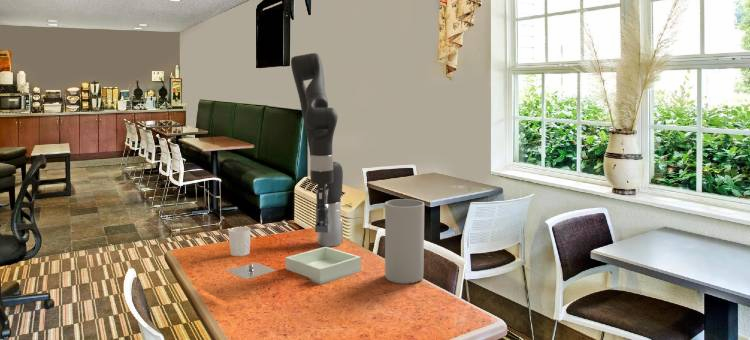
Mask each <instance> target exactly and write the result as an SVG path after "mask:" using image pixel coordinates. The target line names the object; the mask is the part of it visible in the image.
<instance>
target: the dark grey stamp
mask: <svg viewBox="0 0 750 340" xmlns="http://www.w3.org/2000/svg"><path fill="white" fill-rule="evenodd" d="M320 205H323V203H320ZM325 207H326V209H325V221H319V220H318V209H317V202H316V203H315V225H314V233H318V232H324V233H328V230H329V223H328V219H329V204H328V203H325Z"/></svg>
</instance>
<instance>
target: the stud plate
mask: <svg viewBox="0 0 750 340" xmlns="http://www.w3.org/2000/svg"><path fill="white" fill-rule="evenodd" d="M276 271H277V270H276V269H275V268H271V267H270V266H269V267H268V266H266V265H264V264H261V263H259V262H253V263H250V264H246V265H241V266H238V267H234V268H231V269H227V270H226V272H228V273H230V274H233V275H234V276H237V277H239V278H242V279H244V280H249V279H252V278H256V277H259V276H262V275H265V274H266V275H267V274H269V273H272V272H276Z"/></svg>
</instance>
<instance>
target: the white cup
mask: <svg viewBox="0 0 750 340" xmlns="http://www.w3.org/2000/svg"><path fill="white" fill-rule="evenodd" d="M228 240H229V242H228V243H229V247H230V248H229V249H230V250H229V251H230V255H231V256H233V257H243V256H244V257H245V256H247V255H250V252H251V251H250V248H251V228H250V227H247V226H246V227H245V226H237V227H236V226H235V227H231V228H229V229H228Z"/></svg>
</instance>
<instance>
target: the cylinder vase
mask: <svg viewBox="0 0 750 340" xmlns="http://www.w3.org/2000/svg"><path fill="white" fill-rule="evenodd" d="M384 204H385V206H384V209H385V212H384V215H385V216H384V220H385V221H384V222H385V223H384V229H385V230H384V233H385V234H384V250H385V251H384V267H385V268H384V276H385V279H386V280H387V281H389V282H391V283H394V284H399V285H400V284H401V285H408V284H409V283H411V284H415V282H416V283H419V282H420V281H422V280H423V279H424V262H425V261H424V256H425V252H424V251H425V250H424V249H425V202H423V201H421V200H419V199H418V200H417V199H411V198H410V199H405V198H403V199H402V198H400V199H399V198H398V199H391V200H388V201H387V200H386V201H385V202H384ZM421 279H422V280H421ZM418 281H419V282H418ZM409 285H410V284H409Z"/></svg>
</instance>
